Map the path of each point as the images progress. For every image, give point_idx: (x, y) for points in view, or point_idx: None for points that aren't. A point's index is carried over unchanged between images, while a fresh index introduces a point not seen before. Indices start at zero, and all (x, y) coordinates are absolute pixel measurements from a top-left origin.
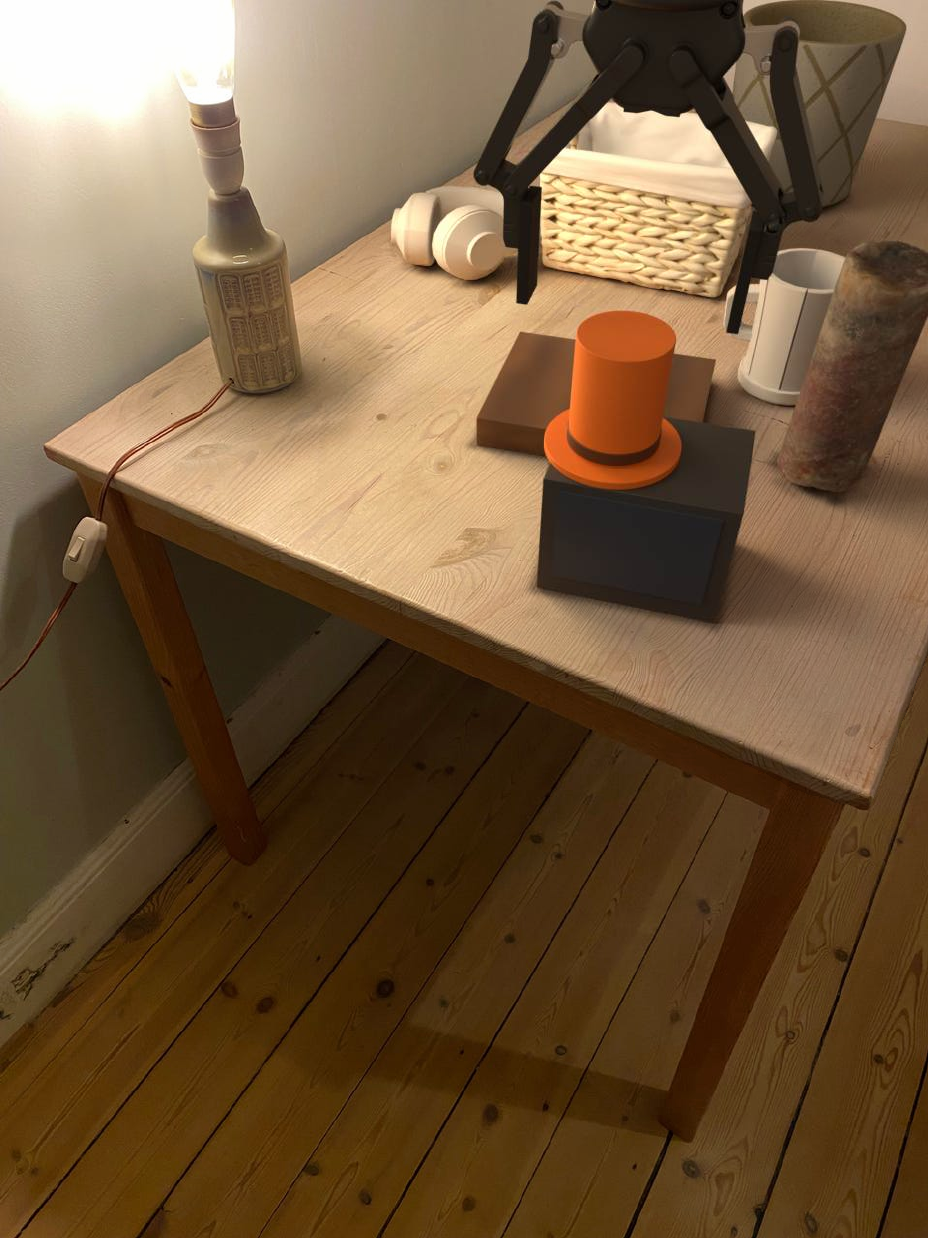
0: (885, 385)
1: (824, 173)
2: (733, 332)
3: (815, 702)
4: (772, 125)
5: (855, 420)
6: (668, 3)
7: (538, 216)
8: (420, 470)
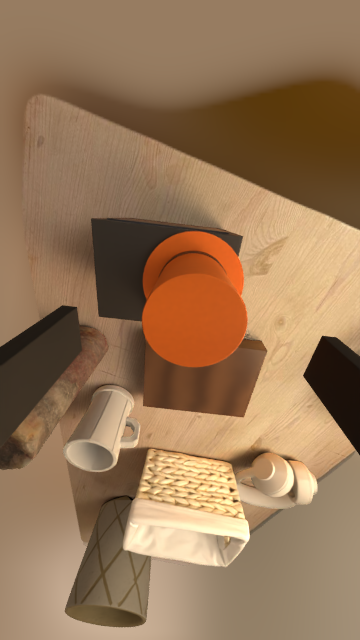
0: None
1: (108, 518)
2: (67, 306)
3: (63, 161)
4: None
5: None
6: None
7: None
8: (293, 317)
